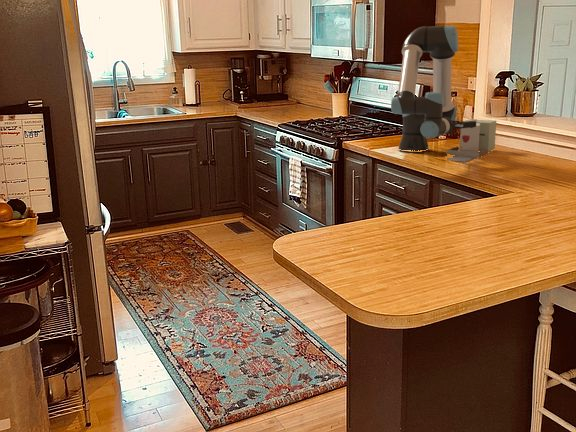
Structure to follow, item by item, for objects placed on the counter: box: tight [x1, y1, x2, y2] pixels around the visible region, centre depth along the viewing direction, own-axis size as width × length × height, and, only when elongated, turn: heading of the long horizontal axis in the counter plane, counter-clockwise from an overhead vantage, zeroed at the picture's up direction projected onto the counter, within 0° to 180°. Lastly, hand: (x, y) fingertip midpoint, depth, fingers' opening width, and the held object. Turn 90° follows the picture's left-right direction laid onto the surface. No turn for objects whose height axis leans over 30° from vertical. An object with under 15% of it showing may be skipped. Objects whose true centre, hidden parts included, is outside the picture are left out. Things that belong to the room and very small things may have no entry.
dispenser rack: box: [445, 118, 497, 159], centre depth 312 cm, size 24×16×15 cm
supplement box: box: [459, 123, 480, 153], centre depth 309 cm, size 9×9×15 cm
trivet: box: [447, 155, 477, 163], centre depth 301 cm, size 14×14×1 cm
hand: (462, 121), depth 298 cm, fingers open, 13 cm apart
